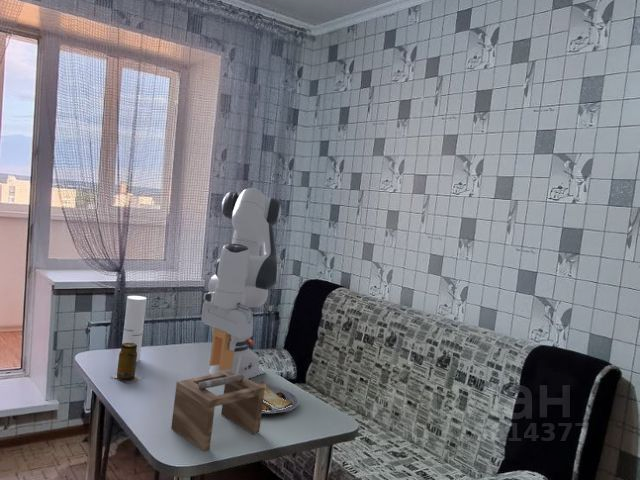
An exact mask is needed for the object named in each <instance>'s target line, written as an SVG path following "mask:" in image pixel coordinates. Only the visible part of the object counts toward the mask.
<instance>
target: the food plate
mask: <svg viewBox="0 0 640 480" xmlns="http://www.w3.org/2000/svg"><path fill="white" fill-rule="evenodd" d="M258 384H259V385H261V386H263V387H265V391H264V398H263V400H264V401H266V402H268V403H269V404H271V405H273V406H274V407H276V408H278V409H282V408H286V407H288V406H290V405H292V406H291V407H288V408H286V409H283V410H279V411H278V410H273V408H272V407H271V406H270V405H268V404H266V403H264V402H263V406H262V410H266V411H267V410H272V411H270V412H265V411H264V412H263V411H262V414H276V413H277V414H278V413H279V414H281V413H285V412H290V411H293V410H294V409H296V408H297V407H298V405H299V401H298V398H297V397H296V396H295V395H294V394H292V393H291V392H289V391H288V390H285V389H283V388H282V387H278V386H273V385H270V384H266V383H265V381H261V382H260V383H258ZM282 398H283V399H284V400H283V399H282ZM285 400H286V401H285ZM281 403H282V404H281Z"/></svg>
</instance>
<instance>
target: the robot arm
mask: <svg viewBox="0 0 640 480" xmlns="http://www.w3.org/2000/svg"><path fill="white" fill-rule="evenodd" d="M221 210H222V211H221V212H222V215H223V216H224V217H225V218H227V219H229V220H231V225H232V228H233V229H234V230H233V231H234V232H233V234H232V239H231V241H232V242H231V243H227V244H225V245H223V247H222V250H221V253H220V256H219V257H218V259H217V261H216V266H215V274H213V275H211V277H210V280H209V281H208V286H207V288H208V292H206V293H204V294H203V300H204V301H203V303H202V308H201V309H202V310H201V317H200V318H201V321H202V322H201V323H202V324H204V325H207V326H209V327H211V333H212V335H213V334H214V328H216V329H219V330H221V331H223V332H226V333H227V334H230V335H231V339H232V340H231V342H230V343H228V347H227V349H229V350H234V357H233V365H232V369H228V370H222V371H220V370H219V365H214V366H211V365H210V369H208V373H209V375H213V374H218V373H223V372H228V371H233V372H235V373H237V374H243V376H244V377H245V378H247V379H249V378H250V379H252V378H255V377H257V375H258V376H261V375H264V374H265V370H264V368H263V367H261V366H260V358H259V356H258V355H257V354H256V353H255V352H254V351H253V350H251V348H249V345H250V346H253V345H254V343H255V341H254V340H252V339H251V338H252V337H253V335H254V334H253V332H254V316H253V311H252V310H251V308H260V307H262V306H263V305H264V304H265V303H266V302H267V299H268V296H269V289H271V288H272V287H274V286H275V285H276V284H277V282H278V280H279V266H278V262H277V255H276V244H275V234H274V229H273V226H274V225H276V224H277V223H278V222H279V220H280V218H281V215H282V207H281V202H280V201H279V200H278V199H276V198H273V197H268V196H266V195H264V193H263V192H262V191H261V190H260V189H258V188H255V187H249V188H248V187H247V188H246V189H244V190H242V191H241V192H238V191H229V192H228V193H226V194H225V196H224V198H223V199H222V201H221ZM261 247H262V255H260V249H261ZM260 374H261V375H260ZM250 379H249V380H250Z"/></svg>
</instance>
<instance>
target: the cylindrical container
mask: <svg viewBox="0 0 640 480" xmlns="http://www.w3.org/2000/svg"><path fill="white" fill-rule="evenodd" d="M126 297H127V298H126V307H125V317H124V326H123V332H122V333H123V335H122V341H121V343H122V344H123V343H134V344H136V345H137V350H136V352H137V360H136V363H139V362H140V361H141V360H140V359H141V351H142V343H143V335H144V334H143V333H144V325H145V314H146V309H147V297H146V296H141V295H128V296H126ZM122 344H121V345H122Z"/></svg>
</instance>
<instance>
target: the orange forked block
mask: <svg viewBox="0 0 640 480" xmlns="http://www.w3.org/2000/svg"><path fill="white" fill-rule="evenodd" d="M212 336H213V337H212V341H211V342H212V345H211V351H210V359H209V366H210V367H211V366H214V365H219V370H220V371H222V370H228V369H232V365H233V357H234V350H229V349H227V347H228V343H230V342H231V340H232V339H231V335H230V334H227V333H226V332H223V331H221V330H219V329H216V328H214V334H212Z"/></svg>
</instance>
